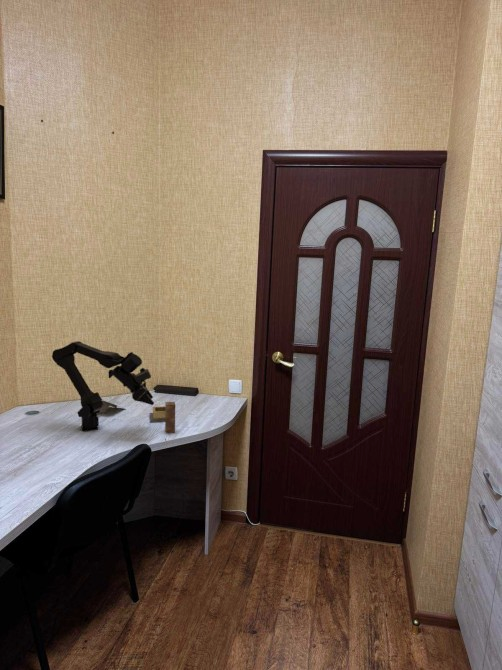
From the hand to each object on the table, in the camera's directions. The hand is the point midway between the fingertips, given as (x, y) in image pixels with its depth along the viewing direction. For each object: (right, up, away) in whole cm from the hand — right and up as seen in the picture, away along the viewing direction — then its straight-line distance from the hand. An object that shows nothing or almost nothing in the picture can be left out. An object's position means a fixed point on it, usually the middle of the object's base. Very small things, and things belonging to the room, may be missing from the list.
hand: (152, 401), depth 197 cm
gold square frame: (0, -11, +20) cm, 23 cm away
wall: (-29, -9, +28) cm, 41 cm away
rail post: (+7, -14, +4) cm, 16 cm away
